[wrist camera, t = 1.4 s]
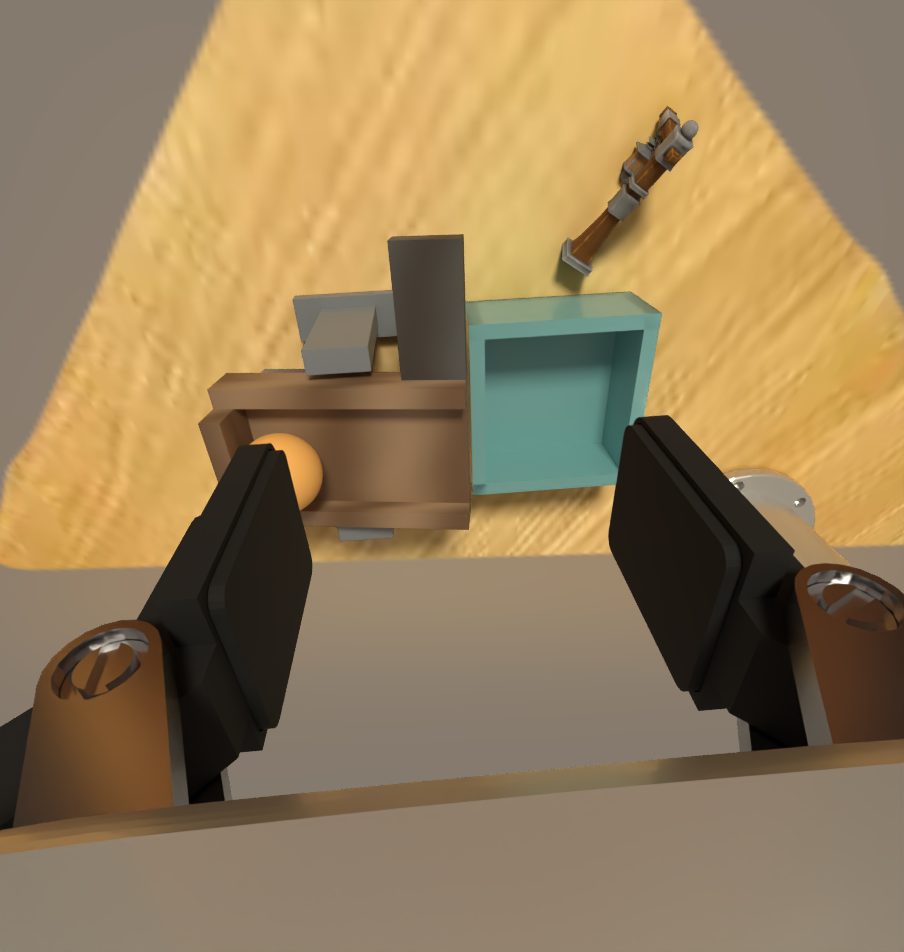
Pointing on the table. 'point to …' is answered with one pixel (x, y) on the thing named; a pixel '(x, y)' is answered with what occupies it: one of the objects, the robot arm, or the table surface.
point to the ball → (298, 464)
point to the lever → (375, 408)
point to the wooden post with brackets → (633, 185)
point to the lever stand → (345, 347)
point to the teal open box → (555, 388)
